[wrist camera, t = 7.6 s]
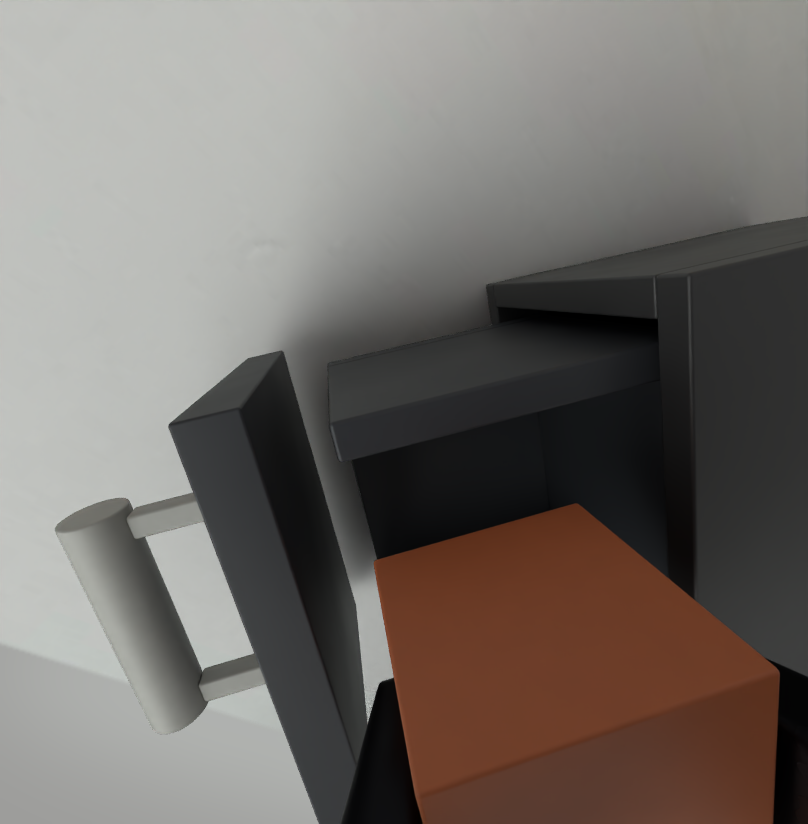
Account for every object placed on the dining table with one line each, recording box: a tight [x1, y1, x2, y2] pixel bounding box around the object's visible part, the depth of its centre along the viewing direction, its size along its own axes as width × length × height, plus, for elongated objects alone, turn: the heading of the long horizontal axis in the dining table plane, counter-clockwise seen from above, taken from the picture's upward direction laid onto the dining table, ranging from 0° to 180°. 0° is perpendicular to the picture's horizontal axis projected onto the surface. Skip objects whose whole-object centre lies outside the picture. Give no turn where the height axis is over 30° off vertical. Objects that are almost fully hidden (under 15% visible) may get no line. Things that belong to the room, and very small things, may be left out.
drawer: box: [55, 315, 669, 824], centre depth 13 cm, size 14×10×8 cm
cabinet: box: [486, 216, 808, 677], centre depth 14 cm, size 11×12×10 cm
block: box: [374, 503, 780, 824], centre depth 7 cm, size 4×4×4 cm
